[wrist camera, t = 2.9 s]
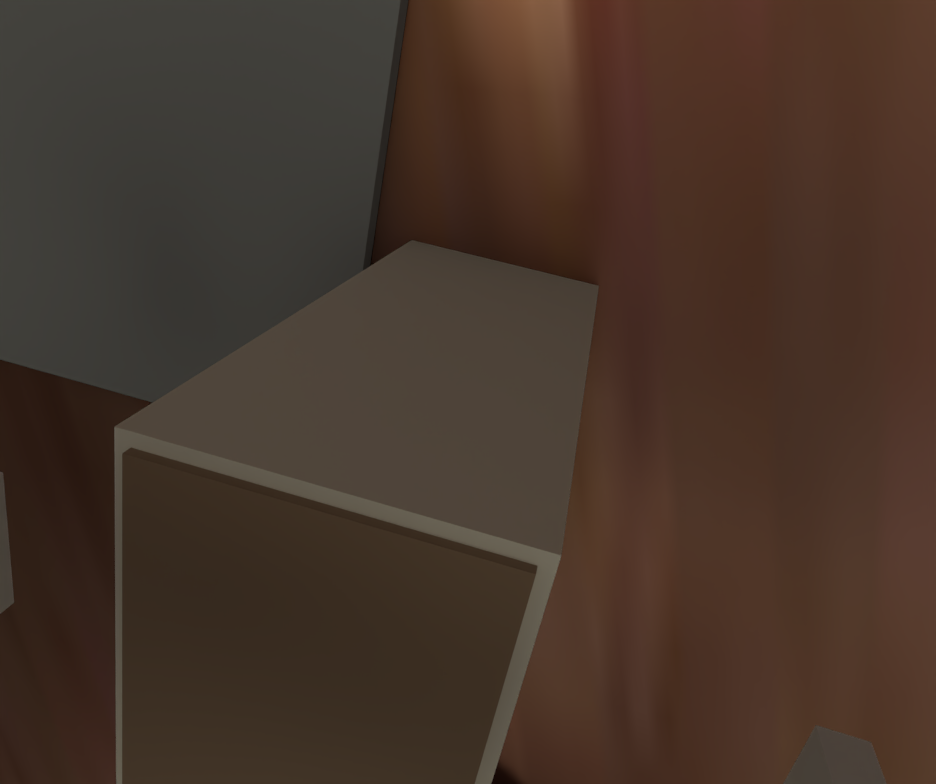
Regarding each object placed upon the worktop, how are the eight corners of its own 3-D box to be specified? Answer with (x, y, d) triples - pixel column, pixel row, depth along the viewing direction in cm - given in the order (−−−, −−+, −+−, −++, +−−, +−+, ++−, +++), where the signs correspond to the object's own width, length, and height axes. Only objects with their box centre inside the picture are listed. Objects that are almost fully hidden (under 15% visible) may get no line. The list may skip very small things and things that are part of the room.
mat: (-255, 277, 24) (-276, 282, 23) (-395, -360, 17) (-429, -376, 17) (344, 445, 21) (337, 454, 21) (439, -216, 15) (432, -228, 14)
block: (365, 522, 22) (110, 931, 11) (411, 239, 19) (105, 433, 8) (520, 567, 22) (412, 1043, 11) (599, 285, 18) (560, 563, 7)
